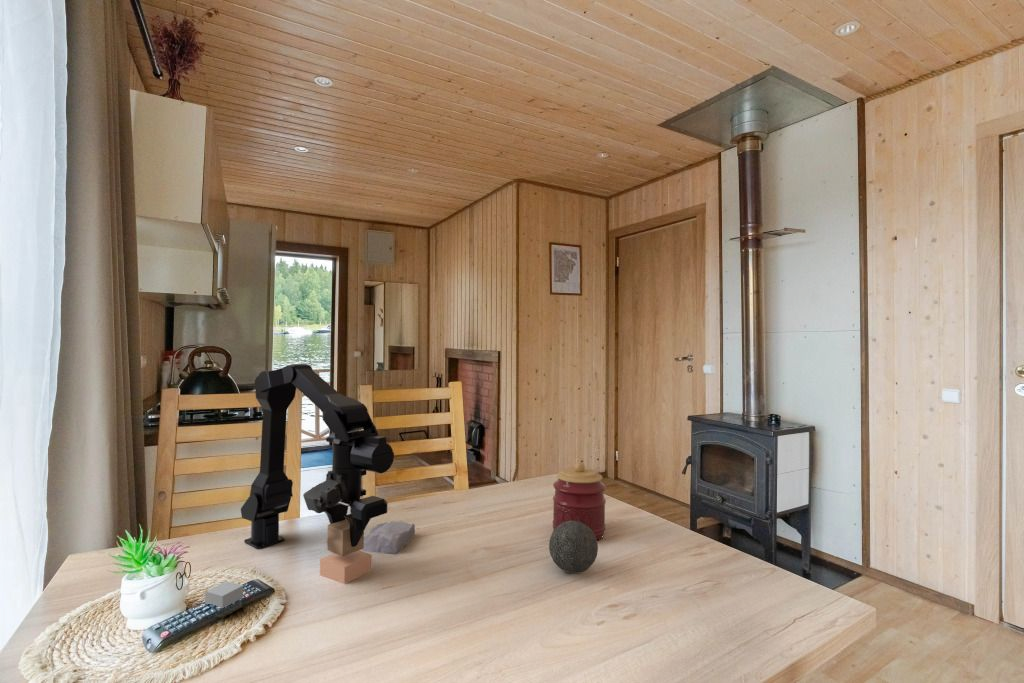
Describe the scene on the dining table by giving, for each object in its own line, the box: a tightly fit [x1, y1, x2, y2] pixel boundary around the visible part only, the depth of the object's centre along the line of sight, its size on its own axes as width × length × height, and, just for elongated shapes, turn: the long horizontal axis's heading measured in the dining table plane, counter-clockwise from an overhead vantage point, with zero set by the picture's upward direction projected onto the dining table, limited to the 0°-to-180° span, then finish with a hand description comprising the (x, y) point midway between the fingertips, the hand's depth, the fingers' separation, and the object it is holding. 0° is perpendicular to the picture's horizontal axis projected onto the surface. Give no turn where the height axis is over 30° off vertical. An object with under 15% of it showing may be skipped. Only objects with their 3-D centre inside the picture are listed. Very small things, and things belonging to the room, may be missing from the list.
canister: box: [552, 461, 607, 540], centre depth 123 cm, size 13×13×18 cm
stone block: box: [361, 520, 416, 555], centre depth 116 cm, size 12×5×10 cm
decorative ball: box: [548, 521, 599, 574], centre depth 103 cm, size 10×10×10 cm
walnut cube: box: [326, 519, 365, 557], centre depth 101 cm, size 5×5×5 cm
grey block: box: [204, 580, 244, 608], centre depth 86 cm, size 4×4×4 cm
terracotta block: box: [319, 550, 372, 585], centre depth 101 cm, size 7×7×4 cm
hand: (346, 542), depth 101 cm, fingers closed on walnut cube, 5 cm apart
